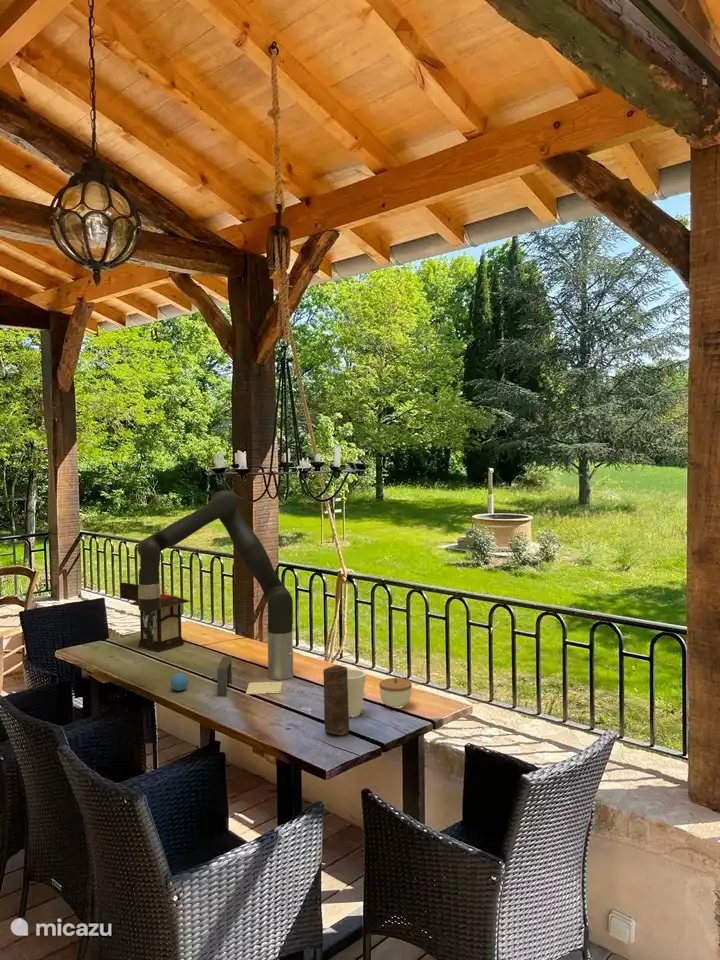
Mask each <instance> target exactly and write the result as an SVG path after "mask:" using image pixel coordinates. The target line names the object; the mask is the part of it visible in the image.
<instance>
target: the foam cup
mask: <svg viewBox="0 0 720 960" xmlns="http://www.w3.org/2000/svg"><path fill="white" fill-rule="evenodd" d="M347 681H348V711H349V715H357V714H360V713H361V714H362V709H363V702H364V694H365V693H364V692H365V691H364V690H365V683H366V672H365V671H363V670H359V669H349V668H348V669H347Z"/></svg>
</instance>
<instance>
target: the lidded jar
mask: <svg viewBox="0 0 720 960" xmlns="http://www.w3.org/2000/svg"><path fill="white" fill-rule="evenodd" d="M378 685H379V686H378V687H379V695H380V698H381V699H380V700H381V701H382V703H384V704H385V706H386V705H387V706H391V707H400V706H405V707H406V705H407V704H408V703H409V702H410V700H411V697H412V687H413V686H412V685H413V684H412V681H410V680H409V679H406V678H401V677H389V678H384V679H382V680H381V681H379V684H378ZM387 706H386V707H387Z"/></svg>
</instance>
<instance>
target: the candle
mask: <svg viewBox="0 0 720 960" xmlns="http://www.w3.org/2000/svg"><path fill="white" fill-rule="evenodd" d="M347 670H348V668H347V666H343V665H340V664H334V665H332V666H329V667H326V668H324V669H323V703H324V704H323V705H324V706H323V708H324V709H323V710H324V711H323V712H324V714H323V716H324V717H323V718H324V730H325V731H326V733H329V734H333V735H338V736H345V735H344V734H347V733H348V732H350V717H349V711H348V681H347ZM348 734H349V733H348ZM348 734H347V735H348Z"/></svg>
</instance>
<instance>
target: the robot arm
mask: <svg viewBox="0 0 720 960" xmlns="http://www.w3.org/2000/svg"><path fill="white" fill-rule="evenodd" d="M238 508H239V497H238V496H237V494H236V493H235V492H234V491H232V490H219V491H218V492H215V493H214V494H213V495H212V497H211V500H210V501H209V502H207V503H206V504H205V505H204V506H201V507H200V508H198V509H197V510H195V511H194V512H192V513H190V514H188V515H186V516H184V517H182V518H180V519H178V520H176V521H174V522H173V523H171V524H169V525H167V526H166V527H164V528H163V529H162V530H160V531H158V532H155V533H153V534H151V535H149V536H148V537H146V538H144V539H143V540H141V541H140V542H139V544H138V545H137V549H136V550H137V554H138V555H139V561H140V563H139V565H140V566H139V567H140V568H139V570H138V585H139V588H138V610H139V612H140V611H144V616H143V621H144V622H142V627H143V631H144V634H146V644H147V645H153V644H154V634H153V633H154V632H155V631H154V630H155V629H156V622H157V617H158V616H157V614H155V610H159V609H160V608H161V596H160V594H161V584H160V583H161V582H160V566H161V564H160V563H161V552H162V551H164V550H165V549H167V548H173V547H174V546H176V545H177V544H179V543H180V542H182V541H184V540H185V539H187V538H188V537H190V536H192V535H193V534H194V533H196V532H198V531H199V530H201V529H202V528H204V527H205V526H207V525H209V524H211V523H212V522H214V521H216V520H218V519H219V521H220V522H221V524H222V525H223V526H224V528H225V530H226V531H227V533H228V535H229V538H230V539H231V542H232V544H233V545H234V548H235V550H236V552H237V554H238V555H239V557H240V559H241V561H242V563H243V564H244V566H245V567H246V568H247V570H248V571H249V572H250V573H251V575H252V577H253V578H254V579H255V580H256V581H257V582H258V584H259V586H260V588H261V590H262V592H263V595H264V597H265V599H266V602H267V673H268V675H267V677H268V678H269V679H271V680H274V681H275V680H277V681H282V680H283V681H284V680H288V679H293V678H294V649H293V647H294V646H293V645H294V644H293V643H294V642H293V625H294V601H293V596H292V595H291V593H290V591H289V590H288V589H287V588H286V586H285V585H284V584H283V582H282V580H280V577H279V576H278V574H277V573H276V571H275V569H274V567H273V564H272V561H271V559H270V556H269V555H268V553H267V551H266V549H265V546H264V545H263V544H262V542H261V541H260V538H259V537H258V536H257V534H256V533H255V532H254V531H253V530H252V528H251V527H250V526H249V525H248V524H247V522H245V520H244V518H243V517H242V515H241V513H240V511H239V509H238Z"/></svg>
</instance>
